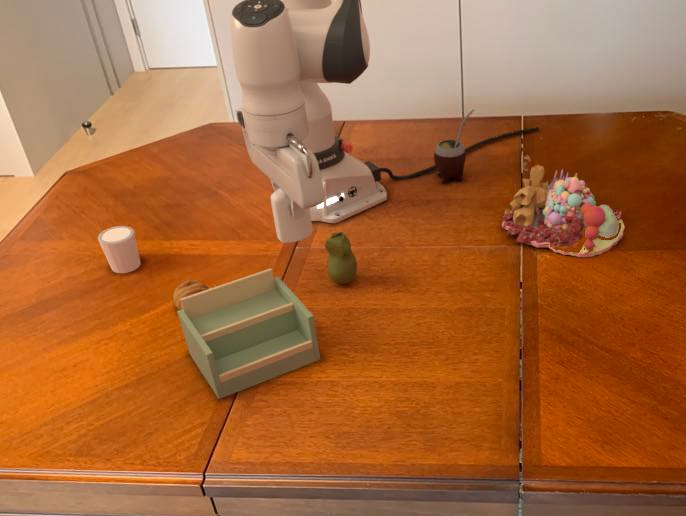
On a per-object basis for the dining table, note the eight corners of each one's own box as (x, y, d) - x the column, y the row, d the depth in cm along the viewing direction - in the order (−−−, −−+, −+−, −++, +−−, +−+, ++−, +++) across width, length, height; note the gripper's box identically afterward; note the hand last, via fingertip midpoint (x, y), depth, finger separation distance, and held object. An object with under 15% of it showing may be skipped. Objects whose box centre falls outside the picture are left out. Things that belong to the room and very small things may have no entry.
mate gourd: (429, 181, 182) (426, 115, 172) (446, 167, 187) (445, 103, 177) (457, 188, 179) (456, 122, 169) (475, 174, 184) (475, 108, 174)
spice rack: (286, 319, 144) (276, 266, 137) (320, 359, 135) (312, 305, 128) (189, 354, 137) (173, 300, 130) (218, 399, 128) (203, 344, 121)
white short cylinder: (134, 276, 157) (123, 244, 152) (101, 273, 158) (90, 242, 153) (149, 257, 162) (140, 226, 157) (118, 255, 163) (108, 224, 158)
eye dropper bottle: (279, 230, 130) (266, 160, 122) (313, 228, 131) (303, 158, 123) (276, 244, 127) (263, 173, 119) (312, 242, 127) (301, 171, 119)
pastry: (224, 315, 146) (219, 297, 143) (188, 328, 143) (182, 310, 141) (206, 291, 152) (201, 273, 149) (171, 302, 149) (166, 285, 147)
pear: (363, 278, 153) (358, 231, 146) (348, 292, 150) (342, 245, 143) (338, 271, 155) (332, 224, 148) (323, 285, 152) (316, 238, 145)
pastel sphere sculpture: (486, 242, 161) (487, 200, 155) (521, 190, 177) (523, 149, 171) (611, 264, 153) (616, 220, 147) (635, 207, 169) (641, 165, 163)
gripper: (328, 142, 111) (339, 232, 120) (269, 97, 124) (283, 181, 133) (287, 154, 109) (301, 244, 118) (230, 107, 122) (247, 191, 131)
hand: (291, 210), depth 126 cm, fingers closed on eye dropper bottle, 3 cm apart
